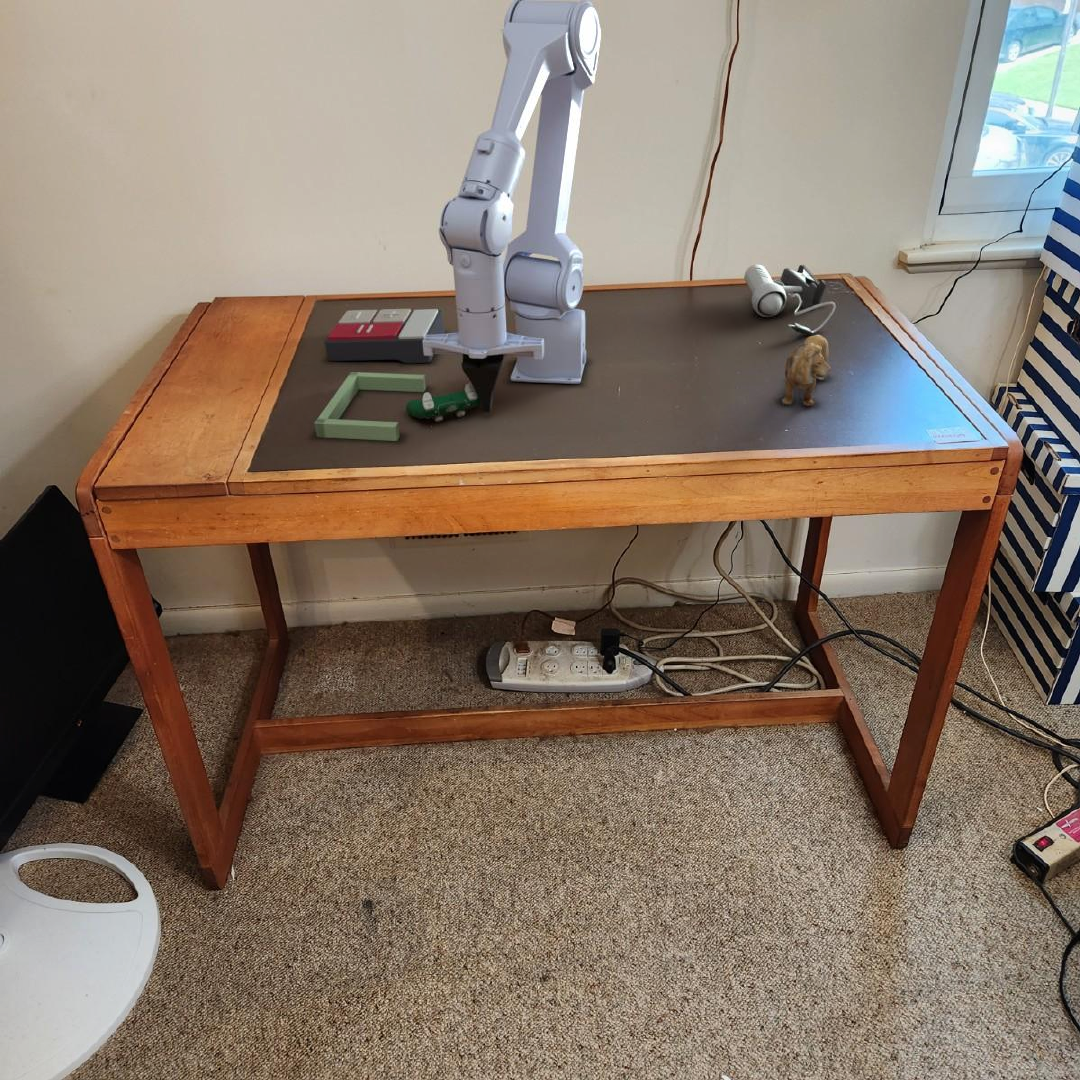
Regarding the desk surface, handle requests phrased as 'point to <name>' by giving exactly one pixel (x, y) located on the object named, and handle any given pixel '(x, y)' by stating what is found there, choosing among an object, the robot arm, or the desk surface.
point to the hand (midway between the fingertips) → (487, 408)
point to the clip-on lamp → (773, 297)
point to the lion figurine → (806, 368)
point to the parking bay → (365, 430)
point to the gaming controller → (443, 404)
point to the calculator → (383, 335)
